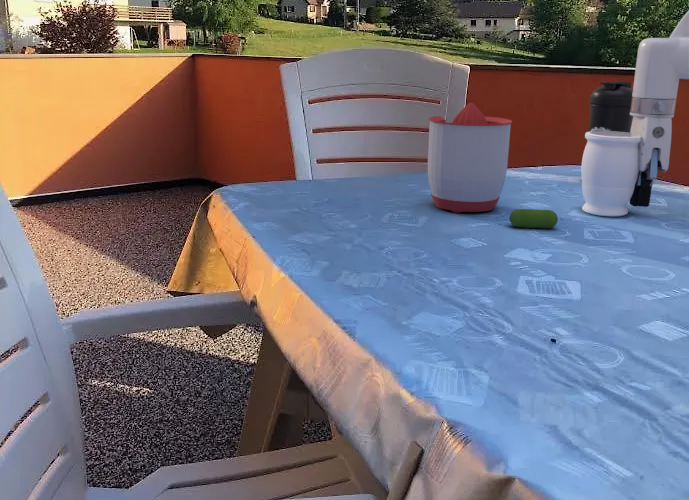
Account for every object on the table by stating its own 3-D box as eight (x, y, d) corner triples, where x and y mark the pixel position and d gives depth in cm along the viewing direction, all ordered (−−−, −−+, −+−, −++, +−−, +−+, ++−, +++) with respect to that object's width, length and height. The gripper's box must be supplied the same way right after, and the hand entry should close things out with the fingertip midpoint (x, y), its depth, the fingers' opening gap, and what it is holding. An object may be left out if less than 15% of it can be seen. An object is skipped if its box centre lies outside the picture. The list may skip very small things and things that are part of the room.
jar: (581, 203, 143) (589, 128, 139) (635, 209, 138) (646, 132, 134) (572, 214, 134) (580, 134, 129) (630, 221, 129) (641, 138, 125)
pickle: (554, 226, 125) (556, 208, 124) (558, 230, 122) (560, 212, 121) (507, 224, 126) (509, 206, 125) (510, 229, 123) (511, 211, 122)
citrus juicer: (476, 195, 149) (483, 98, 143) (520, 214, 133) (530, 106, 128) (408, 198, 144) (412, 99, 139) (445, 218, 129) (452, 107, 123)
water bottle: (571, 181, 165) (583, 80, 159) (593, 177, 172) (605, 79, 166) (612, 188, 158) (626, 83, 152) (634, 183, 165) (647, 82, 158)
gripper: (689, 112, 123) (673, 215, 128) (659, 105, 137) (646, 197, 142) (645, 111, 123) (631, 214, 128) (619, 104, 137) (607, 196, 143)
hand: (639, 205), depth 135 cm, fingers closed
